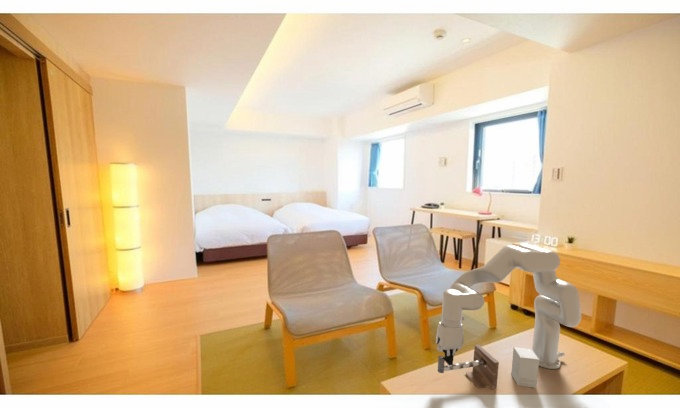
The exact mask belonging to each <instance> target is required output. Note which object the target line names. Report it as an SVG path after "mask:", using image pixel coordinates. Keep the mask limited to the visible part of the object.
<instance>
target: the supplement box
mask: <svg viewBox="0 0 680 408" xmlns="http://www.w3.org/2000/svg"><path fill="white" fill-rule="evenodd" d="M512 352H513V353H512V363H511V372H510V374H511V376H512V377H513V380H514V382H515V383H516V384H517V386H522V387H527V388H534V389H535V388H537V386H538V378H539V377H538V376H539V367H540V366H539V358H538V357H537V356H536V354H535V353H534V352H533V350H532V348H525V347H523V348H522V347H515V346H514V347H513V351H512Z"/></svg>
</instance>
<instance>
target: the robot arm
mask: <svg viewBox="0 0 680 408" xmlns="http://www.w3.org/2000/svg"><path fill="white" fill-rule="evenodd" d="M560 264H561V258H560V256H559V254H558V253H556V252H555V251H553V250H550V249H546V248H543V247H540V246H537V245H533V244H531V243H525V242H523V243H519V244H516V245H513V244H512V245H511V244H508V245H505V246H503V247H502V248H501V249H500V250H499V251H497V253H496V254H495V255H494V256H493V257H492V258H491V259H490V260H489V261H487V262H486V263H485V264H484V265H483V266H480V267H477V268H473V269H471V270H468V271H466V272H464V273H462V274H461V275H460V276H459V277H458V278H457V279H456V280H455V281H454V282H453V283H452V285H451V286H450V288H448V289H445V290H444V291H443V293H442V303H441V304H442V305H441V308H442V309H441V321H439V323H438V326H437V329H436V337H435V344H436V345H437V347H436V350H437V351H438V352H439V353H444V358H445V362H444V363H446V365H453V364H454V358H455V357H454V356H455V355H456V353H457V351H459V350H461V349H462V348H463V346H464V339H465V334H464V326H463V324H462V322H463V321H464V320H465V317H464V316H463V311H478V310H480V309H482V308H483V307H484V305H485V297H484V296H483V295H482V294H481V293H480V292H479V291H477V290H475V289H473V288H472V287H473V286H474V285H477V284H481V283H491V284H492V283H493V284H494V283H497V284H498V283H501V282H503V281H504V280H505V279H506V278H507V276H509V275H510V273H512V272H513V271H514V270H515V269H519V270H521V271H523V272H526V273H532V275H533V283H534V287H535V290H536V292H537V293H538V295H537V296H536V297H535V298H534V303H533V306H534V315H535V316H534V317H535V318H534V319H535V320H534V328H533V329H534V330H533V338H532V345H531V346H532V347H531V349H532V350H533V352H534V353H535V354H536V356H537V357H538V358H539V367H542V368H545V369H548V370H549V369H550V370H556V369H560V367H561V361H560V360H559V359H560V357H565V352H564V351H559V350H558V349H559V342H560V334H561V326H560V324H561V325H563V326H566V327H568V328H575V327H577V326H578V325H579V324H580V322H581V320H582V309H581V302H580V301H581V299H580V292H579V290H578V289H577V287H576V286H575V285H574V284H573V283H570V282H568V281H566V280H563V279H560V278H559V277H558V276H557V273H556V270H557V269H558V268H559V267H560Z"/></svg>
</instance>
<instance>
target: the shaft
mask: <svg viewBox="0 0 680 408" xmlns="http://www.w3.org/2000/svg"><path fill="white" fill-rule="evenodd" d="M437 360H438V361H437V372H438V373H439V374H444V373H445V372H449V371H455V370H460V369H461V370H463V369H467V368H473V367H475V366H481V365H484V363H483V361H482V360H477V361H474V360H472V361H471V360H470V361H465V362H459V363H453V365H448V364H446V365H445V363H446V362H445V356H443V355H438V358H437Z"/></svg>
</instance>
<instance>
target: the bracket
mask: <svg viewBox="0 0 680 408" xmlns="http://www.w3.org/2000/svg"><path fill="white" fill-rule="evenodd" d="M473 348H474V351H473V361H477V360H482V361H483V363H484V365H481V366H475V367H472V371H467V372H465V375H466V377H467V378H468V379H469V380H470V381H471V382H472V384H473V385H474V386H475V387H476V388H477V389H482V388H489V389H490V390H491V391H495V390H498V389H497V387H498V377H499V368H500V367H499V365H500V363H499V361H498V360H497V359H496V358H495V357H493V355H491V354H490V353H489V352H488V351H487V350H486V349H484V347H482V346H481V344H474V347H473ZM485 361H486V363H485Z"/></svg>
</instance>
